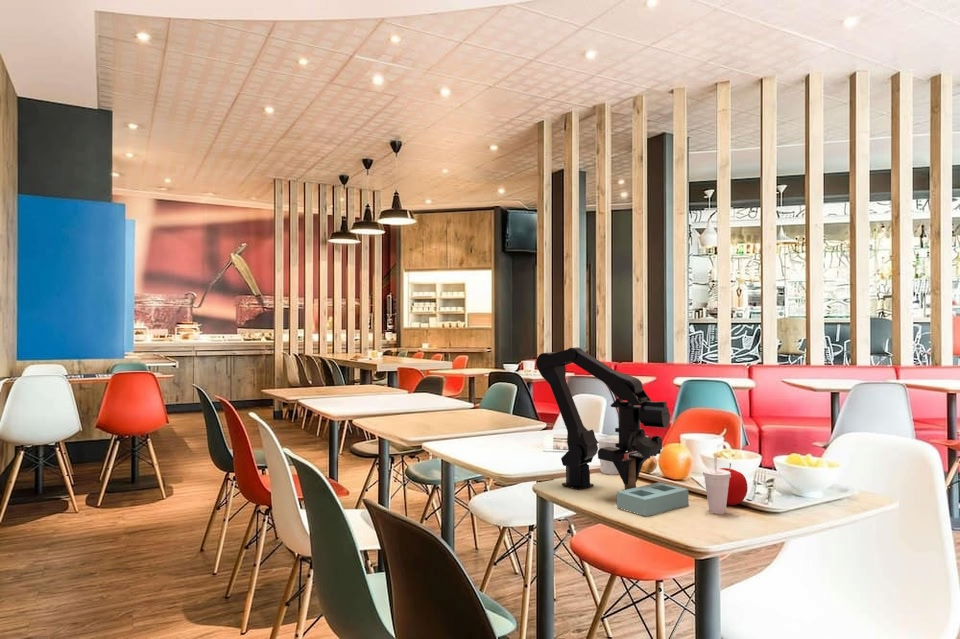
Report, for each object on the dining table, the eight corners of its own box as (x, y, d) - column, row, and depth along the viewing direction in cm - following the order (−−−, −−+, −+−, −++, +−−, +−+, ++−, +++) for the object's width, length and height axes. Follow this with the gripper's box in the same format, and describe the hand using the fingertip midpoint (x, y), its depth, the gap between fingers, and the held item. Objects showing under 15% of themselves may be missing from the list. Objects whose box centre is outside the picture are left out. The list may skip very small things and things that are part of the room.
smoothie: (698, 512, 150) (697, 454, 151) (709, 506, 155) (708, 450, 155) (725, 517, 146) (724, 457, 146) (735, 511, 151) (734, 453, 151)
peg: (622, 494, 167) (621, 458, 167) (629, 492, 169) (629, 457, 169) (630, 496, 165) (630, 460, 165) (638, 494, 166) (637, 459, 166)
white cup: (599, 474, 189) (598, 441, 189) (598, 469, 197) (598, 437, 197) (625, 475, 188) (625, 442, 188) (624, 469, 196) (623, 437, 196)
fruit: (755, 507, 154) (754, 467, 154) (719, 508, 153) (718, 467, 153) (737, 497, 163) (736, 459, 163) (703, 498, 162) (702, 459, 162)
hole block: (617, 507, 155) (616, 491, 155) (659, 497, 164) (659, 482, 164) (645, 516, 147) (645, 499, 147) (688, 505, 156) (688, 489, 156)
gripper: (628, 432, 155) (629, 495, 155) (676, 425, 166) (677, 484, 165) (596, 426, 164) (596, 486, 164) (643, 420, 175) (644, 476, 175)
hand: (630, 483), depth 167 cm, fingers closed on peg, 3 cm apart
